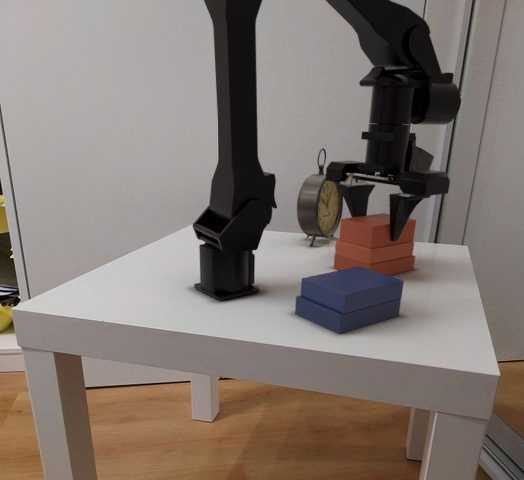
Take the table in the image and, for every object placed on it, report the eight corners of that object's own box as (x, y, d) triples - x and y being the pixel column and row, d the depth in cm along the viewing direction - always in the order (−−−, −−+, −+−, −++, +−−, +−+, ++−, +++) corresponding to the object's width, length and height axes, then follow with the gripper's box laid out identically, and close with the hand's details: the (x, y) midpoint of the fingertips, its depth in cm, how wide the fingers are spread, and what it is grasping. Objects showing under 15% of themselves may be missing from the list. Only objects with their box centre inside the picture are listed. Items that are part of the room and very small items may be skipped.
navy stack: (339, 334, 58) (342, 295, 56) (294, 313, 63) (296, 278, 61) (399, 315, 63) (404, 280, 61) (354, 298, 69) (357, 265, 67)
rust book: (370, 249, 75) (373, 226, 74) (339, 240, 80) (340, 218, 78) (413, 241, 80) (416, 219, 79) (381, 233, 85) (383, 213, 84)
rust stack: (369, 280, 76) (372, 250, 74) (333, 268, 82) (335, 239, 80) (413, 269, 82) (417, 241, 80) (376, 259, 87) (380, 232, 85)
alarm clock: (316, 249, 92) (322, 150, 86) (289, 244, 95) (293, 148, 88) (342, 238, 101) (349, 147, 94) (316, 234, 103) (322, 145, 97)
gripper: (483, 127, 71) (462, 242, 77) (377, 122, 84) (367, 221, 91) (432, 127, 65) (413, 252, 71) (326, 122, 78) (319, 227, 85)
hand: (376, 236), depth 80 cm, fingers closed on rust book, 6 cm apart
